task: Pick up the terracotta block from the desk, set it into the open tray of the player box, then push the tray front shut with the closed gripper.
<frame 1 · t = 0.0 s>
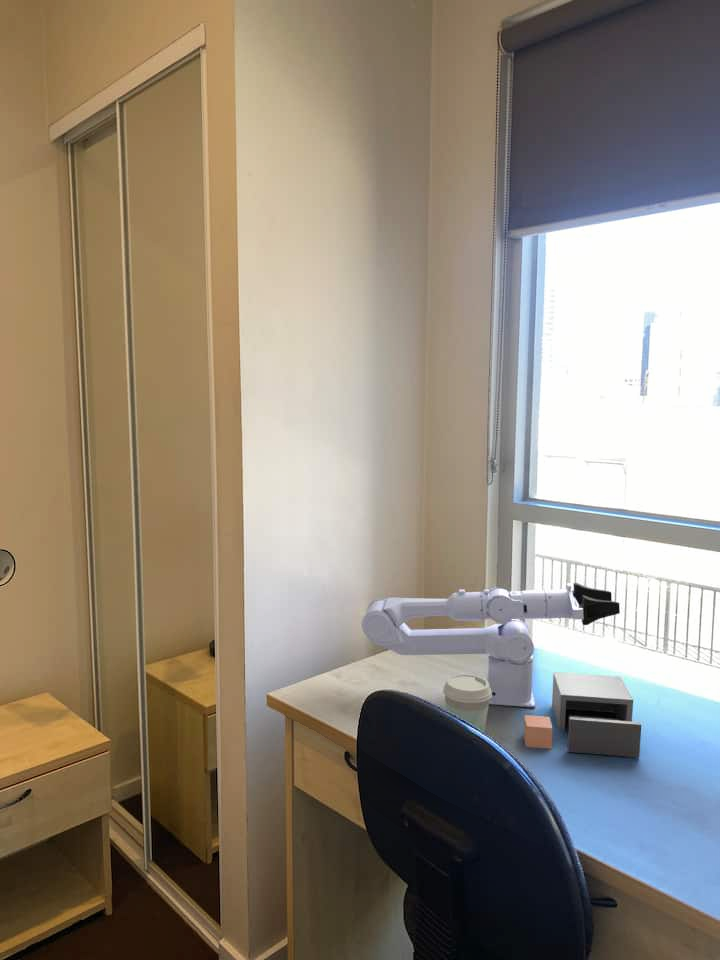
hand: (615, 602, 144), 22 cm above the table, tool horizontal, fingers open, 7 cm apart
terracotta block: (537, 742, 131), on the table
player housing: (589, 720, 140), on the table
tray: (598, 724, 131), point 3 cm above the table, slide at 7.0 cm
coffee cup: (465, 747, 129), on the table
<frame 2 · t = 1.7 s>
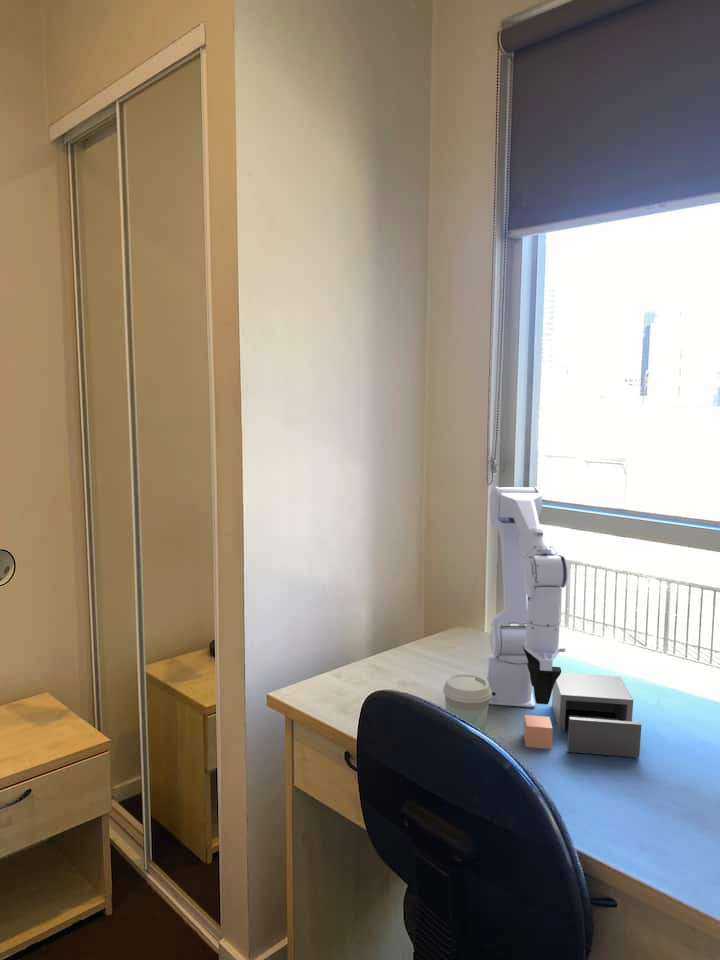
hand: (539, 694, 130), 9 cm above the table, tool pointing down, fingers open, 7 cm apart
nothing on the table moved.
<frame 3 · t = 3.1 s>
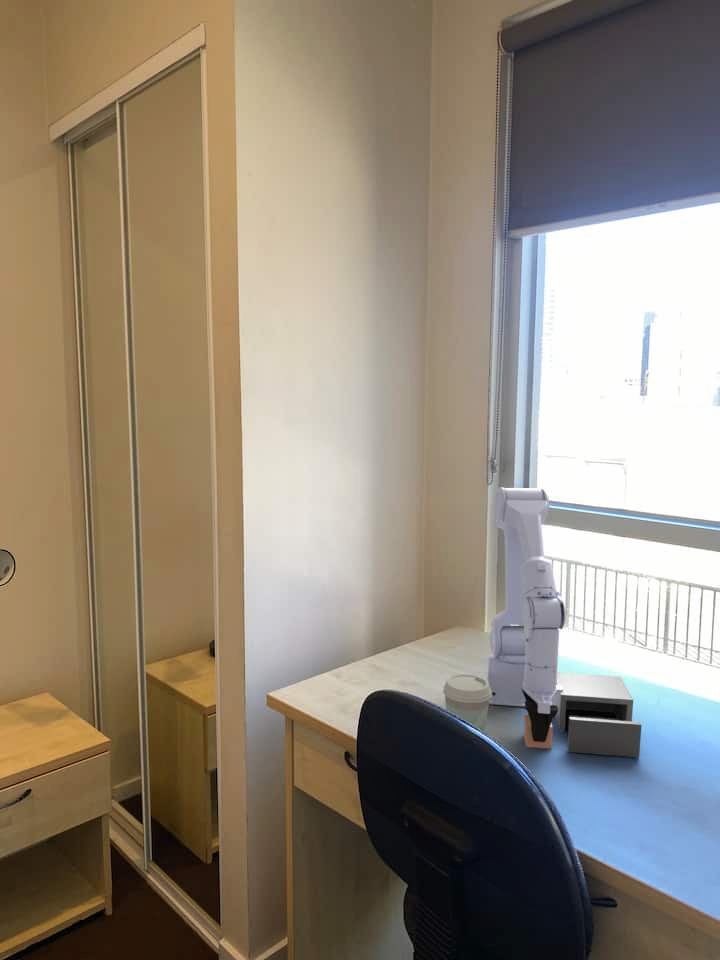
hand: (537, 734, 131), 1 cm above the table, tool pointing down, fingers closed on terracotta block, 4 cm apart
terracotta block: (537, 741, 131), on the table, touching gripper
everything else where it was.
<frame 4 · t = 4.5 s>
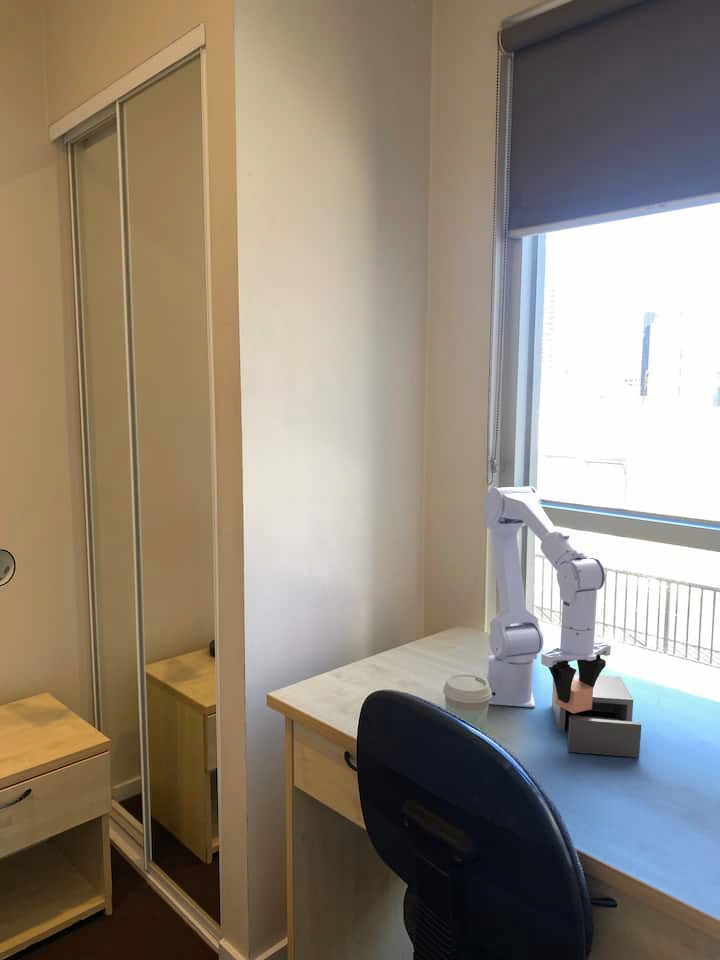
hand: (574, 698, 130), 8 cm above the table, tool pointing down, fingers closed on terracotta block, 4 cm apart
terracotta block: (573, 706, 130), point 7 cm above the table, touching gripper
everything else where it was.
when the fingers open (4 cm above the table, at t = 6.2 s): terracotta block stays where it is, resting on tray.
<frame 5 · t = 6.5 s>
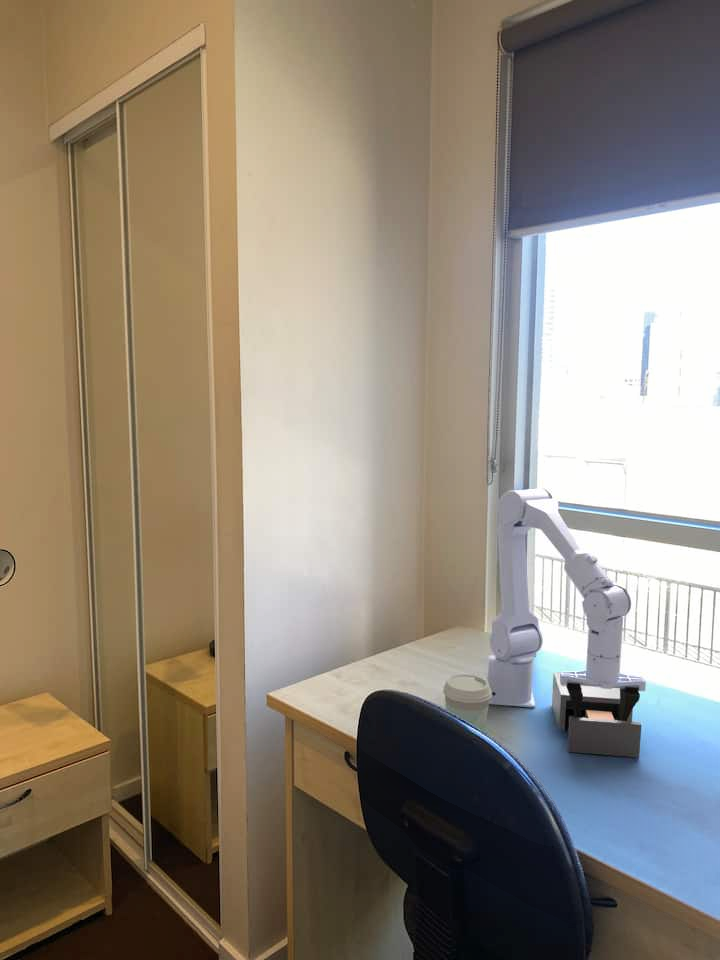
hand: (599, 724, 130), 4 cm above the table, tool pointing down, fingers open, 7 cm apart
terracotta block: (599, 737, 130), point 1 cm above the table, touching tray
tray: (598, 724, 131), point 3 cm above the table, slide at 7.0 cm, touching terracotta block
everything else where it was.
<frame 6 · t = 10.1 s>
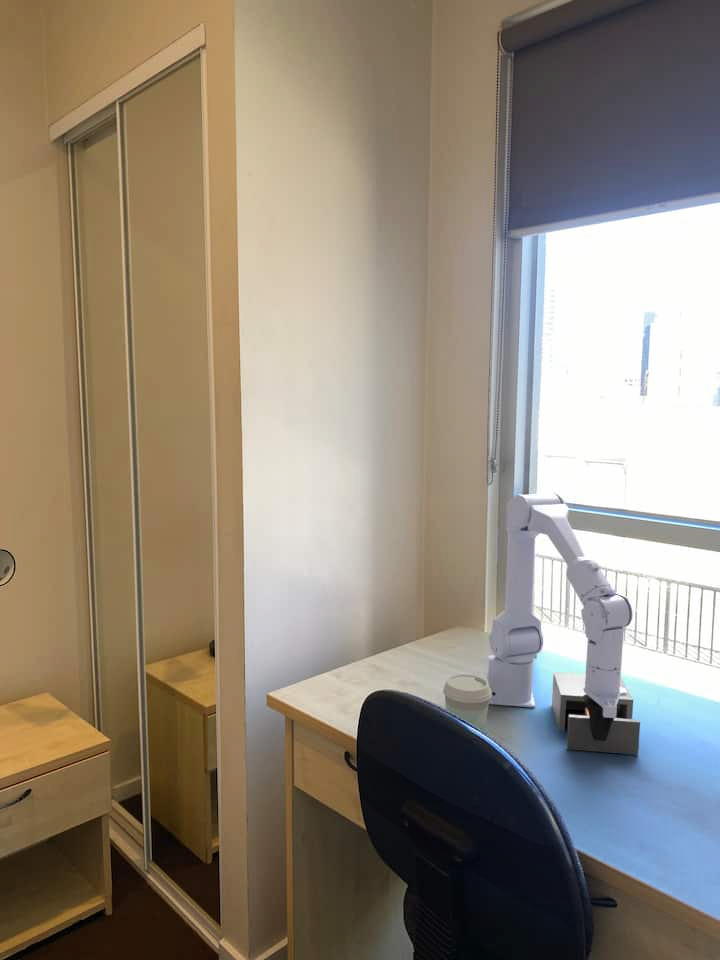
hand: (599, 738, 125), 3 cm above the table, tool pointing down, fingers closed
tray: (597, 721, 132), point 3 cm above the table, slide at 6.1 cm, touching gripper, terracotta block
everything else where it was.
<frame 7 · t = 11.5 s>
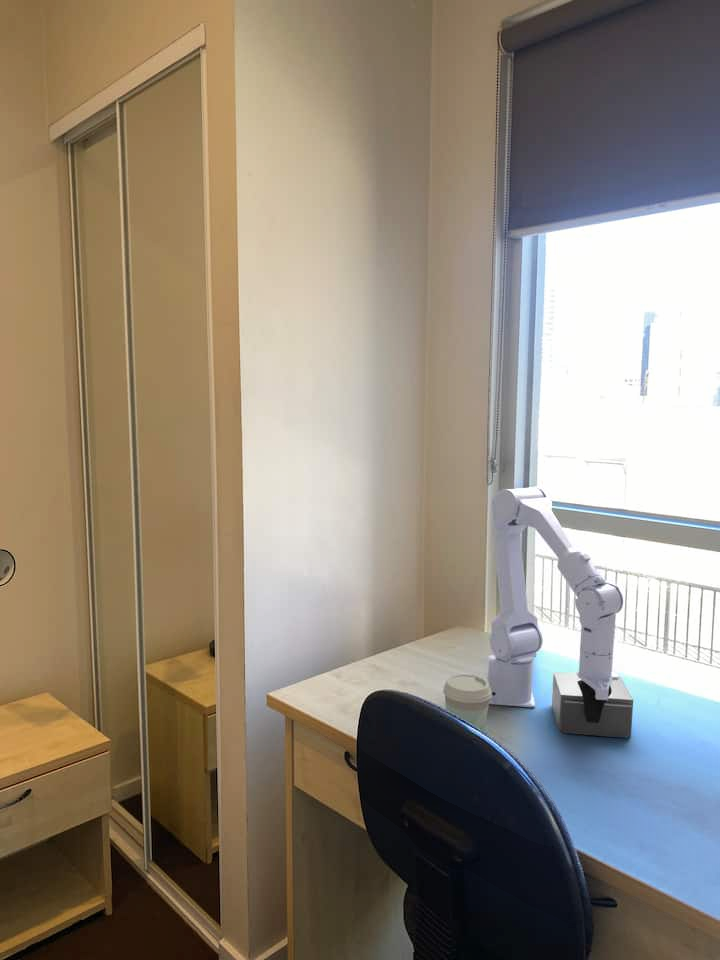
hand: (592, 721, 132), 3 cm above the table, tool pointing down, fingers closed
terracotta block: (592, 719, 137), point 1 cm above the table, touching tray
tray: (591, 707, 138), point 3 cm above the table, slide at -0.1 cm, touching gripper, terracotta block
everything else where it was.
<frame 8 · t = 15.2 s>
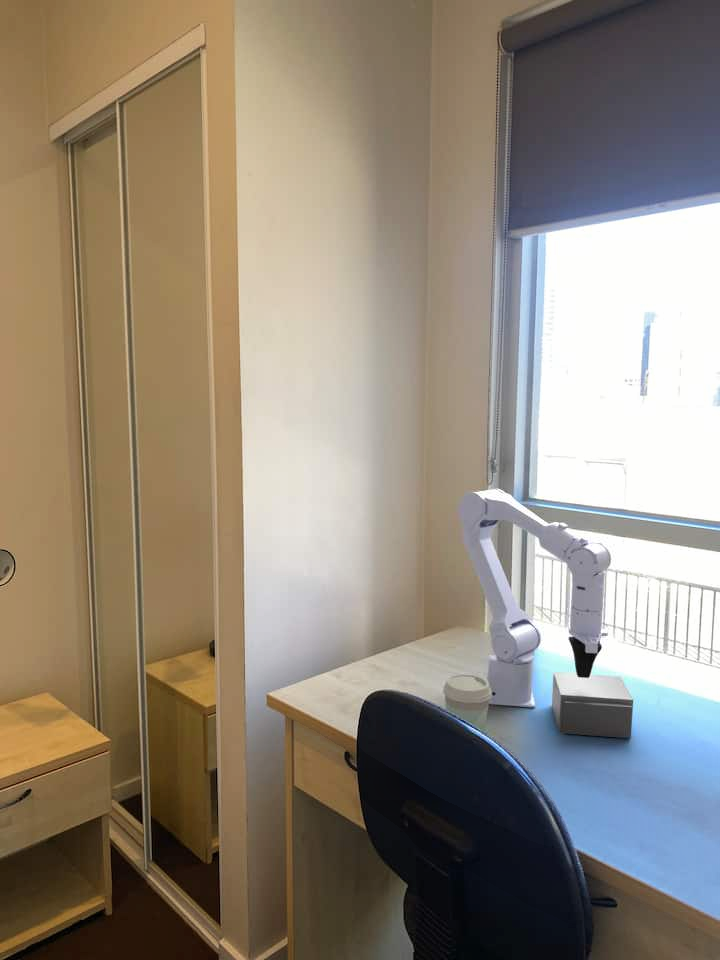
hand: (582, 676, 137), 9 cm above the table, tool pointing down, fingers closed
tray: (591, 707, 138), point 3 cm above the table, slide at 0.0 cm, touching terracotta block
everything else where it was.
at the end: tray slide at 0.0 cm; terracotta block inside the target area (1.7 cm from its centre), point 1.1 cm above the table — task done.
